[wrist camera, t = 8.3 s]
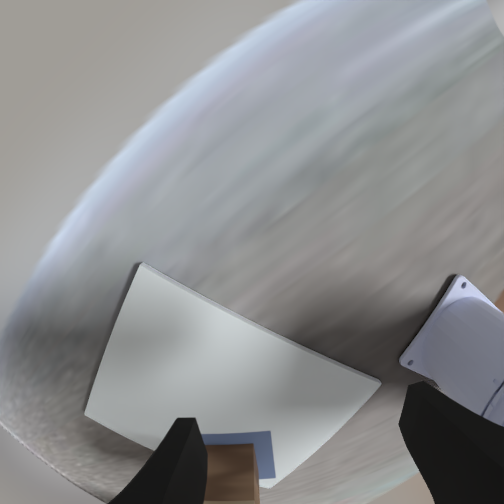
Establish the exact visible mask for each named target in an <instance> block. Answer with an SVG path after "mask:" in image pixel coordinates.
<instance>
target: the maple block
mask: <svg viewBox="0 0 504 504" xmlns="http://www.w3.org/2000/svg"><path fill="white" fill-rule="evenodd" d="M203 504H255V501H254V500H251V501H204V503H203Z"/></svg>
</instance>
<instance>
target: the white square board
mask: <svg viewBox="0 0 504 504" xmlns="http://www.w3.org/2000/svg"><path fill="white" fill-rule="evenodd" d="M380 386H381V382H380V380H379V379H377V378H374V377H372V376H369V375H367V374H365V373H362V372H360V371H358V370H355V369H353V368H351V367H348V366H346V365H344V364H342V363H339V362H337V361H335V360H333V359H330V358H328V357H326V356H324V355H322V354H319V353H317V352H315V351H313V350H311V349H308V348H306V347H304V346H302V345H300V344H298V343H296V342H294V341H291V340H289V339H287V338H285V337H283V336H281V335H279V334H277V333H275V332H273V331H271V330H269V329H267V328H265V327H263V326H261V325H259V324H257V323H255V322H253V321H251V320H249V319H247V318H245V317H243V316H241V315H239V314H237V313H235V312H233V311H231V310H229V309H227V308H225V307H223V306H221V305H220V304H218V303H216V302H214V301H212V300H210V299H208V298H206V297H204V296H203V295H201V294H199V293H197V292H195V291H193V290H191V289H190V288H188V287H186V286H184V285H182V284H181V283H179V282H177V281H175V280H173V279H172V278H170V277H168V276H166V275H164V274H163V273H161V272H159V271H157V270H156V269H154V268H152V267H150V266H149V265H147V264H145V263H142V264H140V266H139V268H138V270H137V272H136V275H135V277H134V279H133V282H132V284H131V286H130V289H129V291H128V293H127V296H126V298H125V301H124V303H123V305H122V308H121V310H120V313H119V315H118V318H117V321H116V323H115V326H114V328H113V331H112V333H111V336H110V339H109V341H108V344H107V347H106V350H105V352H104V355H103V358H102V361H101V364H100V367H99V369H98V372H97V375H96V378H95V381H94V384H93V388H92V391H91V394H90V397H89V400H88V403H87V407H86V410H85V413H84V415H86V416H87V417H89V418H91V419H92V420H94V421H96V422H98V423H99V424H101V425H103V426H105V427H107V428H109V429H110V430H112V431H114V432H116V433H118V434H120V435H122V436H124V437H126V438H128V439H130V440H132V441H134V442H136V443H138V444H140V445H143V446H145V447H147V448H149V449H151V450H154V451H155V450H156V449H157V447H158V446H159V444H160V443H161V441H162V440H163V438H164V437H165V435H166V434H167V432H168V431H169V429H170V428H171V426H172V424H173V423H174V421H175V420H176V419H177V418H187V417H196V420H197V423H198V426H199V429H200V432H201V435H202V438H203V441H204V444H205V445H232V444H251V443H253V444H254V449H255V455H256V460H257V466H258V471H259V486H261V487H265V488H269V489H270V488H271V487H273V486H274V485H275V484H277V483H278V482H279V481H281V480H282V479H283V478H284V477H286V476H287V475H288V474H289V473H291V472H292V471H293V470H294V469H296V468H297V467H298V466H299V465H300V464H302V463H303V462H304V461H305V460H306V459H307V458H309V457H310V456H311V455H312V454H313V453H314V452H315V451H317V450H318V449H319V448H320V447H321V446H322V445H323V444H324V443H325V442H326V441H328V440H329V439H330V438H331V437H332V436H333V435H334V434H335V433H336V432H337V431H338V430H339V429H340V428H341V427H342V426H343V425H344V424H345V423H346V422H347V421H348V420H349V419H350V418H351V417H352V416H353V415H354V414H355V413H356V412H357V411H358V410H359V409H360V408H361V407H362V406H363V404H364V403H365V402H366V401H367V400H368V399H369V398H370V397H371V396H372V395H373V394H374V392H375V391H376V390H377V389H378V388H379V387H380Z"/></svg>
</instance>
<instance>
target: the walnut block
mask: <svg viewBox="0 0 504 504" xmlns="http://www.w3.org/2000/svg"><path fill="white" fill-rule="evenodd" d="M205 447H206V450H207V453H208V471H207V484H206V490H205V497H204V501H251V500H254V501H255V504H260V499H259V471H258V466H257V460H256V455H255V449H254V444H253V443H251V444H232V445H205Z"/></svg>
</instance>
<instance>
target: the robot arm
mask: <svg viewBox="0 0 504 504" xmlns="http://www.w3.org/2000/svg"><path fill="white" fill-rule="evenodd" d="M462 283H463V286H462V287H461V285H462ZM410 360H411V361H410ZM409 361H410V362H409ZM408 362H409V363H408ZM399 363H400V364H401V365H402V366H404V367H406V368H408V369H410V370H412V371H414V372H416V373H419V374H421V375H423V376H425V377H427V378H429V379H432V380H434V381H435V382H436V383H437V385H438V386H439V387H440V388H441V390H442V391H443V392H444V394H443V393H441V392H440V391H438V390H437V389H435V388H434V387H432V386H430V385H429V384H427V383H425V382H424V381H422V382H418V383H415V384H412V385H408V389H407V394H406V398H405V402H404V406H403V410H402V413H401V417H400V421H399V427H400V430H401V433H402V436H403V439H404V441H405V444H406V446H407V448H408V450H409V452H410V454H411V456H412V458H413V460H414V462H415V464H416V465H417V467H418V469H419V471H420V473H421V475H422V477H423V479H424V480H425V482H426V484H427V486H428V488H429V490H430V492H431V494H432V497H433V499H434V502H435V504H504V314H503V313H502V312H501V311H500V310H499V309H498V308H497V307H496V306H495V305H494V304H493V303H492V302H491V301H490V300H489V299H488V298H486V297H485V296H484V295H483V294H482V293H481V292H480V291H479V290H478V289H477V288H476V287H475V286H474V285H473V284H471V283H470V282H469V281H468V280H467V279H466V278H465V277H464V276H462V275H460V274H459V275H457V276H456V277H455V278H454V279H453V281H452V283H451V284H450V286H449V288H448V289H447V291H446V293H445V294H444V296H443V297H442V299H441V300H440V302H439V304H438V305H437V307H436V308H435V310H434V311H433V313H432V314H431V316H430V317H429V319H428V320H427V321H426V323H425V324H424V326H423V327H422V329H421V330H420V331H419V333H418V334H417V336H416V337H415V338H414V340H413V341H412V342H411V344H410V345H409V346H408V348H407V349H406V350H405V352H404V353H403V354H402V355H401V357H400V358H399ZM207 471H208V453H207V450H206V447H205V444H204V441H203V438H202V435H201V432H200V429H199V426H198V423H197V420H196V417H187V418H177V419H176V420H175V421H174V423H173V424H172V426H171V428H170V429H169V431H168V432H167V434H166V435H165V437H164V438H163V440H162V441H161V443H160V444H159V446H158V447H157V449H156V450H155V451H154V453H153V454H152V455H151V457H150V458H149V459H148V461H147V462H146V464H145V465H144V466H143V467H142V469H141V470H140V471H139V472H138V473H137V474H136V476H135V477H134V478H133V479H132V480H131V481H130V483H129V484H128V485H127V486H126V487H125V488H124V489H123V490H122V491H121V492H120V493H119V494H118V495H117V496H116V497H115V498H114V499H113V500H112V501H111V502H109V503H108V504H203V503H204V497H205V490H206V484H207Z"/></svg>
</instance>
